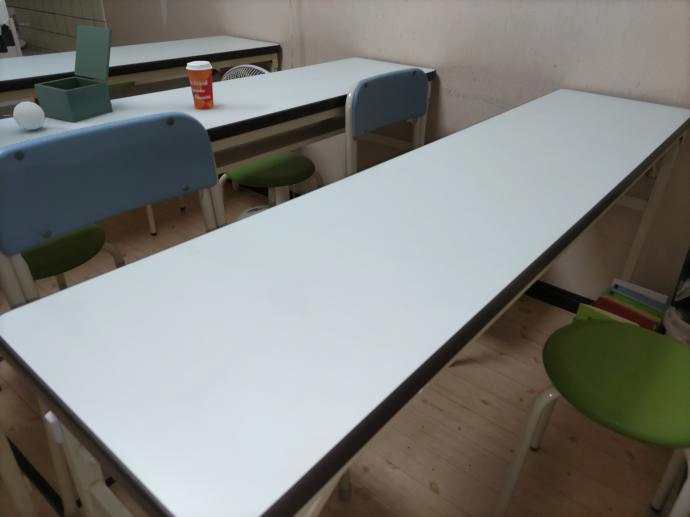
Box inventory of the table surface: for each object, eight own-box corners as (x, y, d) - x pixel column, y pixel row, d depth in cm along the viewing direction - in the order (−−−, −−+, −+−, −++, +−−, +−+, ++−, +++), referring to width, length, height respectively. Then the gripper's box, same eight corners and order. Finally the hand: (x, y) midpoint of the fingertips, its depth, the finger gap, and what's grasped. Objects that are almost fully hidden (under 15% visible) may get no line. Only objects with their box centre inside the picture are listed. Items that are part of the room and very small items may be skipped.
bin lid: (110, 29, 146) (112, 29, 147) (77, 24, 151) (80, 25, 152) (105, 80, 149) (107, 81, 150) (74, 74, 155) (76, 75, 155)
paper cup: (187, 111, 158) (180, 64, 151) (200, 105, 165) (194, 59, 158) (209, 113, 157) (203, 66, 149) (222, 107, 163) (216, 61, 156)
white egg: (54, 125, 141) (46, 98, 137) (39, 133, 135) (30, 105, 131) (18, 124, 141) (10, 97, 138) (2, 132, 135) (-8, 104, 131)
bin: (73, 123, 144) (66, 91, 140) (42, 115, 149) (34, 84, 145) (112, 112, 155) (106, 82, 150) (82, 105, 160) (75, 76, 155)
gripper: (-28, -31, 125) (-5, 44, 134) (-48, -27, 111) (-21, 55, 120) (7, -30, 128) (27, 43, 136) (-8, -27, 114) (15, 55, 123)
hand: (4, 49), depth 128 cm, fingers open, 9 cm apart
